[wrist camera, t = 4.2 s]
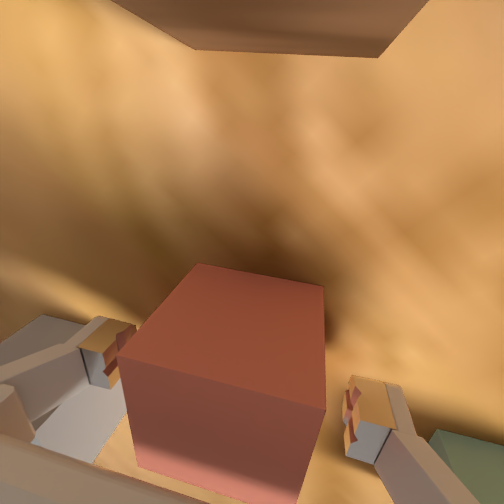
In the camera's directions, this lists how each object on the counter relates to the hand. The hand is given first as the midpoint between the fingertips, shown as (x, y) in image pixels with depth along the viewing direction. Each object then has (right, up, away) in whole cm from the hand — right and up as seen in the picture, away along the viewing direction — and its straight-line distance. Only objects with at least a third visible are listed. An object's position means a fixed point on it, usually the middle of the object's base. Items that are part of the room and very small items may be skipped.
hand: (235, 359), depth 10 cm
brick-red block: (+1, +1, +2) cm, 2 cm away
